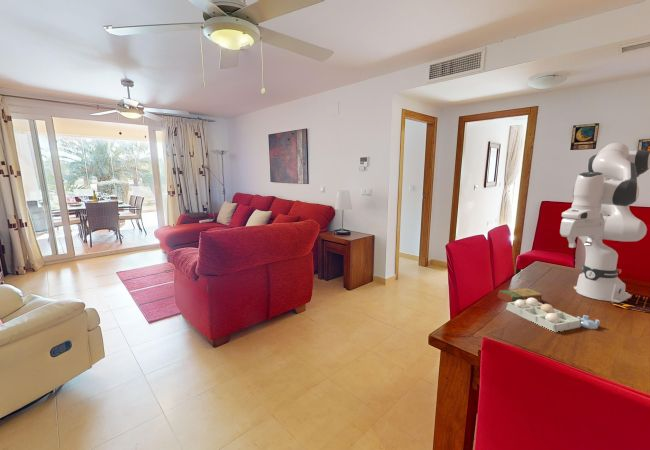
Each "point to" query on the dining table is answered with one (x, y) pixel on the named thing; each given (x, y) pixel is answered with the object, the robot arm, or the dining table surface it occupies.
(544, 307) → the egg
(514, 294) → the carton
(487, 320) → the dining table surface
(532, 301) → the egg
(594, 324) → the egg cup
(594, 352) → the dining table surface
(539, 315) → the tray
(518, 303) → the egg
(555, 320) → the egg
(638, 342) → the dining table surface
